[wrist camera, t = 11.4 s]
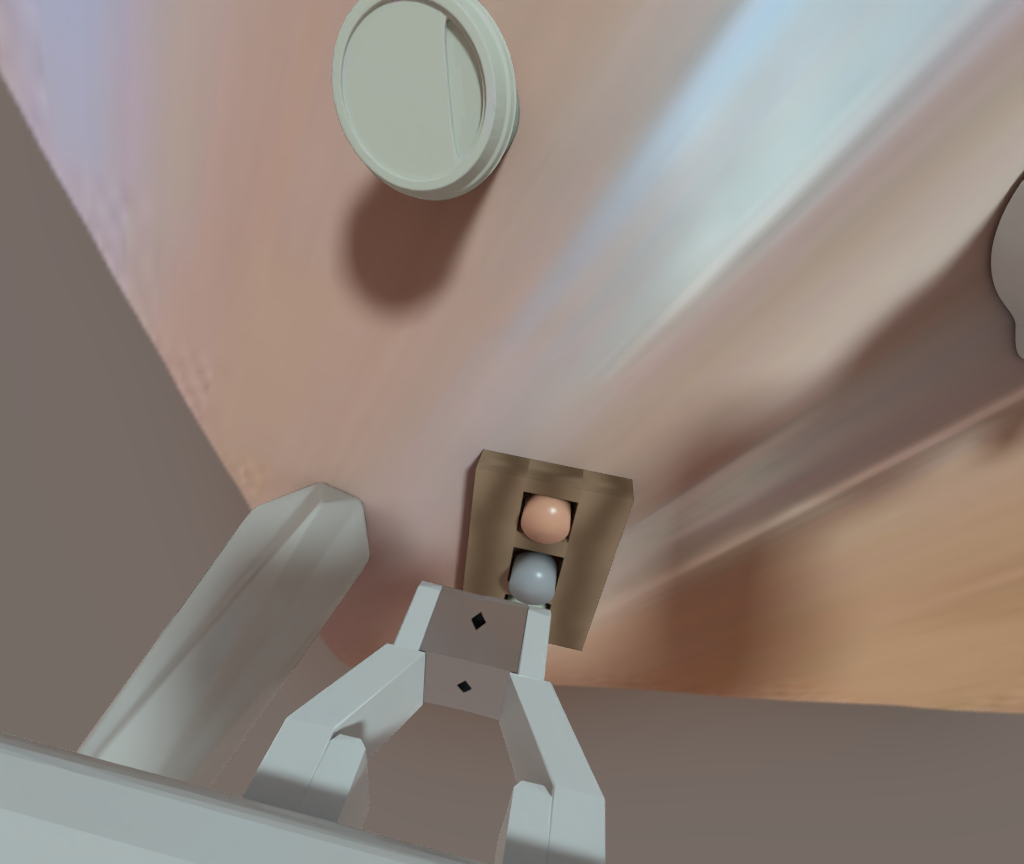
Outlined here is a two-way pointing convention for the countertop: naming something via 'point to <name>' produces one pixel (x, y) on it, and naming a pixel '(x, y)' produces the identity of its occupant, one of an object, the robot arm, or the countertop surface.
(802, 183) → the countertop surface
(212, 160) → the countertop surface
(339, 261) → the countertop surface
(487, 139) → the coffee cup
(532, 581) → the button grey
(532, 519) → the button terracotta
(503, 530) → the panel
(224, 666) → the white faceted column
